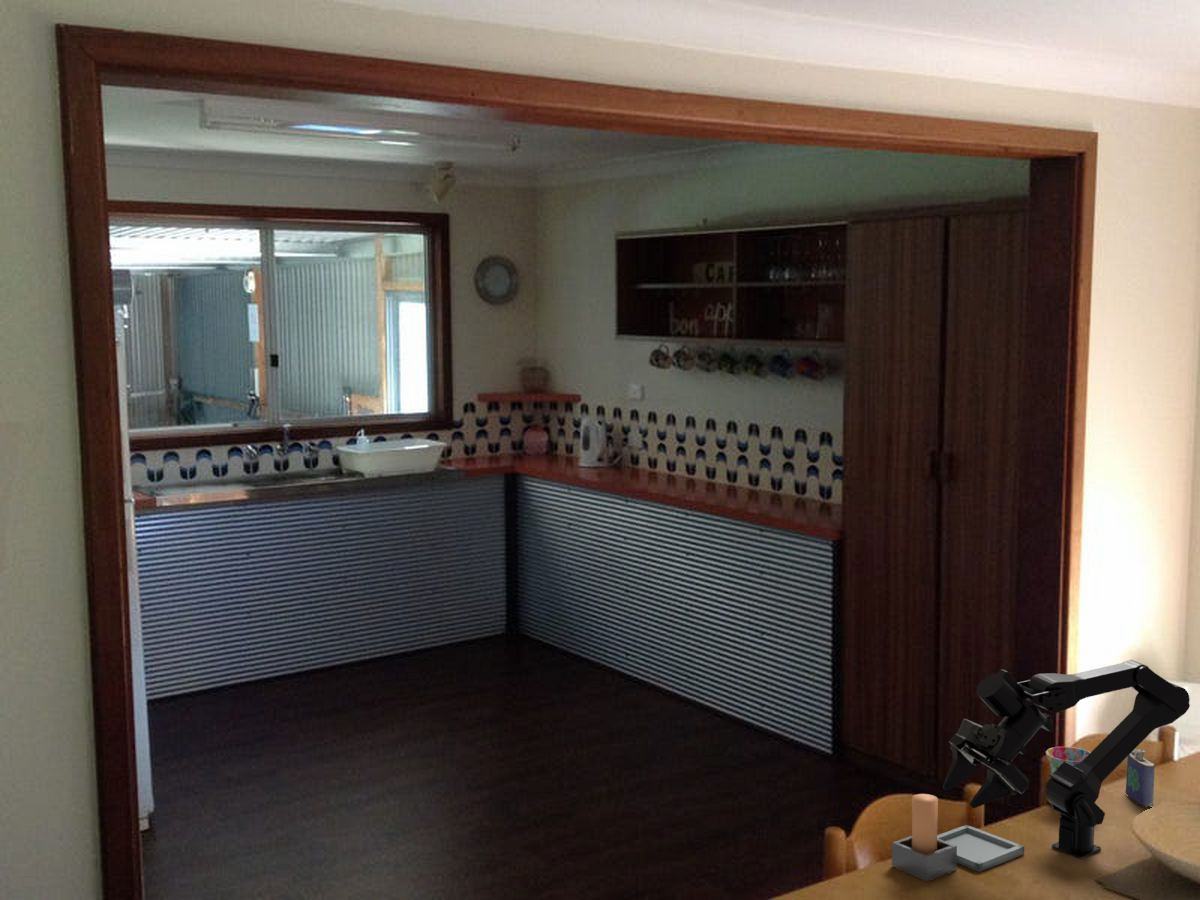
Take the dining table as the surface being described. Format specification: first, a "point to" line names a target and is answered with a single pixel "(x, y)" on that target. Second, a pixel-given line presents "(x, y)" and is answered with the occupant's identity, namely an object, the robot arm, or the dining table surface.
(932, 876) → the square socket holder
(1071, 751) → the mug
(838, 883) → the dining table surface
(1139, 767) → the flask
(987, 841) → the tray
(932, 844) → the peg
